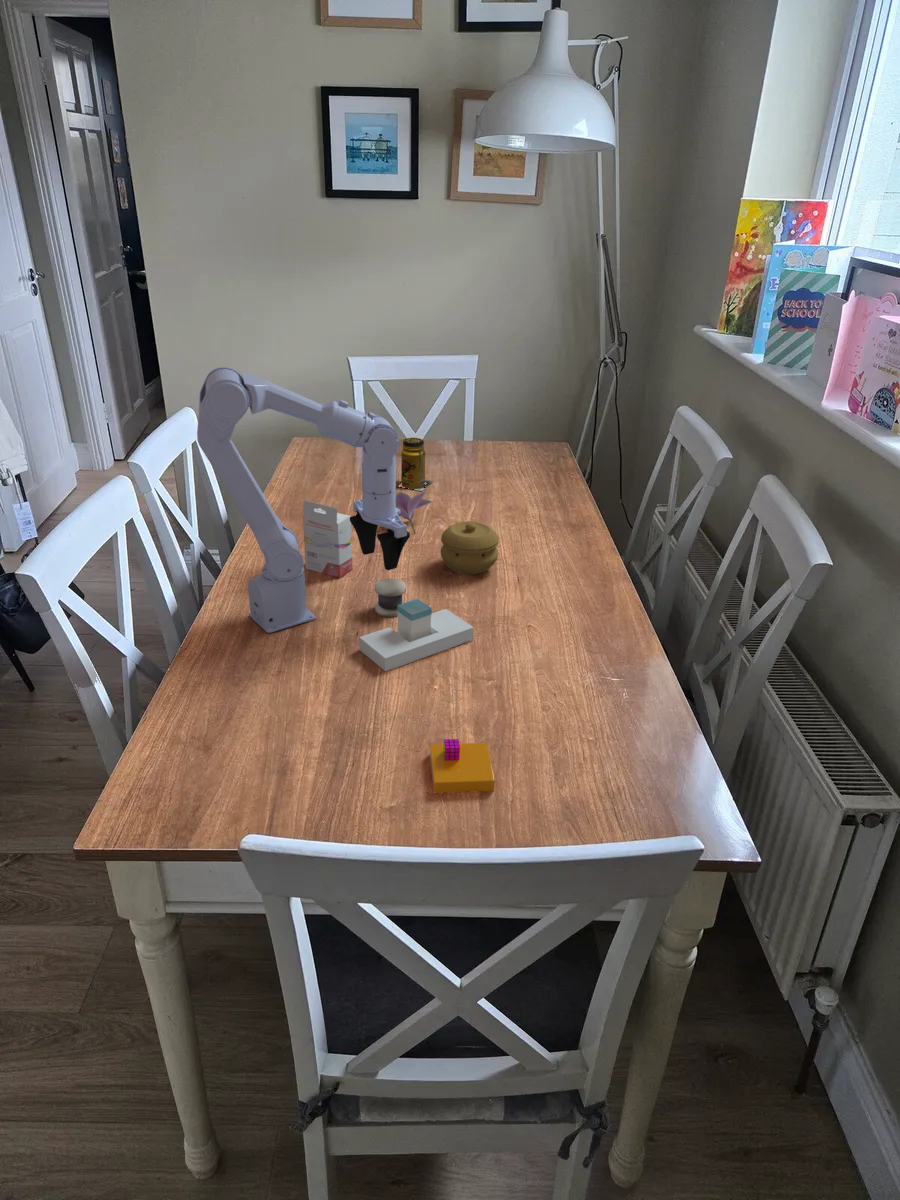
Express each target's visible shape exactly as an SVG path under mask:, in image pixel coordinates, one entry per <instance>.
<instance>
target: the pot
mask: <svg viewBox="0 0 900 1200" xmlns="http://www.w3.org/2000/svg"><path fill="white" fill-rule="evenodd" d="M440 540H441V543H442V546H441V548H440V555H441V558H442V561H443V562H444V563H445V565H446V567H448V568H449V569H451V570H452V571H453V572H456V573H458V574H459V573H460V574H465V575H478V574H481V573H484V572H487V571H489V570H490V569H491V568H492V566H494V564H495V563H496V562H497V559H498V557H499V550H498V548H497V547H498V546H499V544H500V539H499V535H498V534H497V532H496V531H495V530H494V529H493V528H492V527H490V526H489V525H487V524H485V523H482V522H477V521H460V522H456V523H454V524H452V525H450V526H448V527H447V528H446V529H445V530H444V531H443V533H442V534H441V539H440Z"/></svg>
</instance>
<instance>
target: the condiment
mask: <svg viewBox="0 0 900 1200" xmlns="http://www.w3.org/2000/svg"><path fill="white" fill-rule="evenodd" d="M402 441H403V442H402V450H401V454H400V455H401V456H400V457H401V460H400V461H401V463H400V464H401V466H400V467H401V470H400V471H401V472H400V473H401V474H400V475H401V478H400V479H401V482H400V483H402V486H403V487H405V488H409V489H408V490H410V489H414V490H413V491H421V492H423V491H424V490H425V489H426V488H427V487H429V485H431V484H432V483H433V482H434V480H433V479H431V480H430V479H426V451H425V449H424V448H425V445H424V444H425V441H424V440H423V439H422V438H420V437H408V438H404V439H403V440H402ZM425 482H426V483H427V484H426V485H425V484H424V483H425ZM424 487H426V488H424ZM419 489H420V490H419Z"/></svg>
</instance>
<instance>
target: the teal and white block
mask: <svg viewBox="0 0 900 1200" xmlns="http://www.w3.org/2000/svg"><path fill="white" fill-rule="evenodd" d="M432 611H433V609H432V607H430V606H429V605H427V604H426V603H425V602H424V601H423V600H420V599H419V598H414V599H413V600H409V601H405V602H404V603H402V604H399V605H398V616H397V633H398V634H399V635H400V636H402V637H403V638H404V639H406V640H407V641H408V642H412V641H415V640H417V639H420V638H423V637H426V636H429V635H431V614H432V613H433V612H432Z"/></svg>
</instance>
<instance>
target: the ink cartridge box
mask: <svg viewBox="0 0 900 1200" xmlns="http://www.w3.org/2000/svg"><path fill="white" fill-rule="evenodd" d="M302 503H303V504H302V505H303V507H302V508H303V509H302V511H303V512H302V513H303V514H302V527H303V543H304V545H303V546H304V558H305V559H304V560H305V569H306V570H309V571H313V572H316V573H320V574H324V575H327V576H332V577H334V578H338V579H339V578H342V577H343V576H345V575H346V574H348V573H350V572H351V571H353V545H352V543H353V541H352V523H351V522H350V517H352V516H351V515H349V514H343V513H339V512H338V509H337V507H334V506H329V505H326V504H322V503H319V502H318V503H317V502H313V501H309V500H307V499H306V500H303V502H302Z"/></svg>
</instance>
